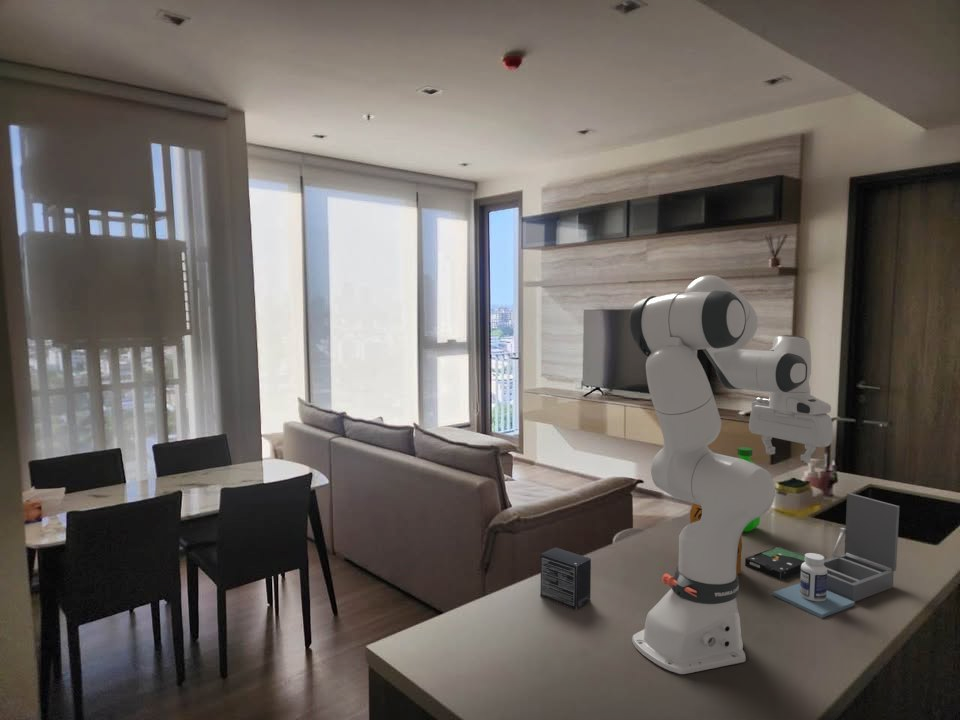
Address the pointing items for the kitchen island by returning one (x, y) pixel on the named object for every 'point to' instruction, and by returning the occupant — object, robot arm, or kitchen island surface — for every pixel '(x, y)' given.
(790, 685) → the kitchen island surface
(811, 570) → the pill bottle
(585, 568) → the small box
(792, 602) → the mat
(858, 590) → the hinged lid box
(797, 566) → the disk drive
